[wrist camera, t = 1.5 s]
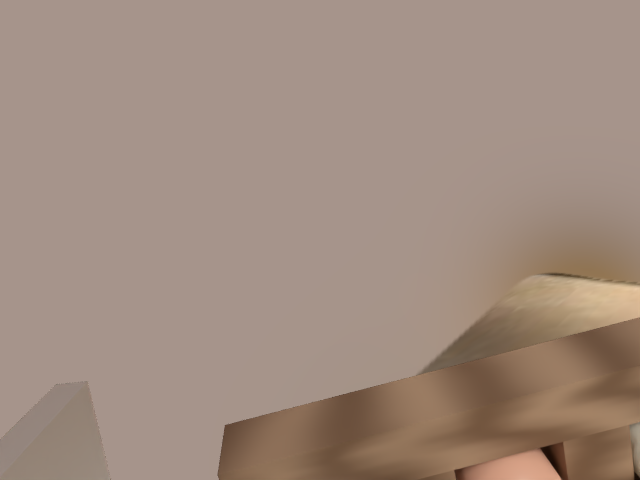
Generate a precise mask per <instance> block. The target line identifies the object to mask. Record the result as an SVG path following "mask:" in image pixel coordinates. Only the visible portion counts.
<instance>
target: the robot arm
mask: <svg viewBox="0 0 640 480" xmlns="http://www.w3.org/2000/svg"><path fill="white" fill-rule="evenodd" d="M0 480H111V478H110V474H109V470H108V465H107V461H106V457H105V453H104V449H103V444H102V440H101V436H100V432H99V427H98V423H97V419H96V415H95V411H94V406H93V402H92V398H91V394H90V389H89V385H88V382H87V381H85V382H75V383H65V384H56V385H55V386H54V387H53V388H52V389H51V390H50V391H49V392H48V393H47V394H46V395H45V396H44V397H43V398H42V399H41V400H40V401H39V402H38V403H37V404H36V405H35V406H34V407H33V408H32V409H31V410H30V411H29V412H28V413H27V414H26V415H25V416H24V417H23V418H21V420H20V421H18V422H17V424H16V425H15V426H14V427H12V428H11V429H10V430H9V431H8V432H7V433H6V434H5V435H4V436H3V437H2V438H1V439H0Z"/></svg>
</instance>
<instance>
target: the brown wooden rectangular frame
mask: <svg viewBox="0 0 640 480" xmlns="http://www.w3.org/2000/svg"><path fill="white" fill-rule="evenodd" d="M638 422H640V318H636V319H632V320H628V321H624V322H620V323H617V324H613V325H609V326H605V327H601V328H597V329H594V330H590V331H586V332H582V333H578V334H574V335H570V336H567V337H563V338H559V339H555V340H551V341H547V342H543V343H540V344H536V345H532V346H528V347H524V348H520V349H517V350H513V351H509V352H505V353H501V354H497V355H493V356H490V357H486V358H482V359H478V360H474V361H470V362H466V363H463V364H459V365H455V366H451V367H447V368H443V369H440V370H436V371H432V372H428V373H424V374H420V375H416V376H413V377H409V378H405V379H401V380H397V381H393V382H390V383H386V384H382V385H378V386H374V387H370V388H367V389H363V390H359V391H355V392H351V393H347V394H343V395H339V396H336V397H332V398H328V399H324V400H320V401H317V402H312V403H309V404H305V405H301V406H297V407H293V408H290V409H286V410H282V411H278V412H274V413H270V414H266V415H262V416H259V417H255V418H251V419H247V420H243V421H239V422H236V423H232V424H228V425H225V429H224V436H223V442H222V449H221V456H220V462H219V470H218V477H219V480H456V477H455V472H454V470H456V469H460V468H464V467H468V466H472V465H476V464H479V463H483V462H487V461H491V460H495V459H499V458H503V457H506V456H510V455H514V454H518V453H522V452H526V451H530V450H533V449H537V448H540V449H541V450H542V452H543V453H544V455H545V456H546V458H547V459H548V460H549V462H550V463H551V465H552V466H553V468H554V469H555V471H556V472H557V473H558V475H559V476H560V478H561V479H562V480H640V477H639V476H638V475H637V474H636V473H635V472H634V468H633V458H632V447H631V437H630V427H629V425H630V424H634V423H638Z"/></svg>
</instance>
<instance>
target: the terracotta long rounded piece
mask: <svg viewBox="0 0 640 480" xmlns="http://www.w3.org/2000/svg"><path fill="white" fill-rule="evenodd" d="M454 472H455V477H456V480H562V479H561V478H560V476H559V475H558V473H557V472H556V471H555V469H554V468H553V466H552V465H551V463H550V462H549V460H548V459H547V458H546V456H545V455H544V453H543V452H542V450H541V449H540V448H537V449H533V450H530V451H526V452H522V453H518V454H514V455H510V456H506V457H503V458H499V459H495V460H491V461H487V462H483V463H479V464H476V465H472V466H468V467H464V468H460V469H456V470H454Z"/></svg>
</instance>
